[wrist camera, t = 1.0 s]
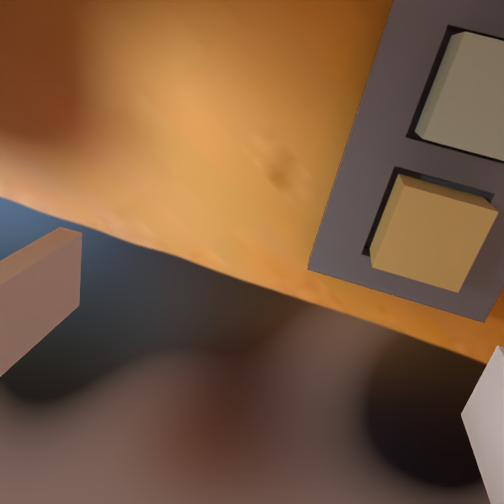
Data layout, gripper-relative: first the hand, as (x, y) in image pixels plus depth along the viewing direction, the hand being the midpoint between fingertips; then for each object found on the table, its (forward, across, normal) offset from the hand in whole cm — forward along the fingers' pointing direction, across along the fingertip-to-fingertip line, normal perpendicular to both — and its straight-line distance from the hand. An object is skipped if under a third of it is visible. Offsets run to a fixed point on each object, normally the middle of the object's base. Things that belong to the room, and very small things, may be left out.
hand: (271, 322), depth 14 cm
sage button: (+20, +9, +8) cm, 24 cm away
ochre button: (+20, +9, -2) cm, 22 cm away
